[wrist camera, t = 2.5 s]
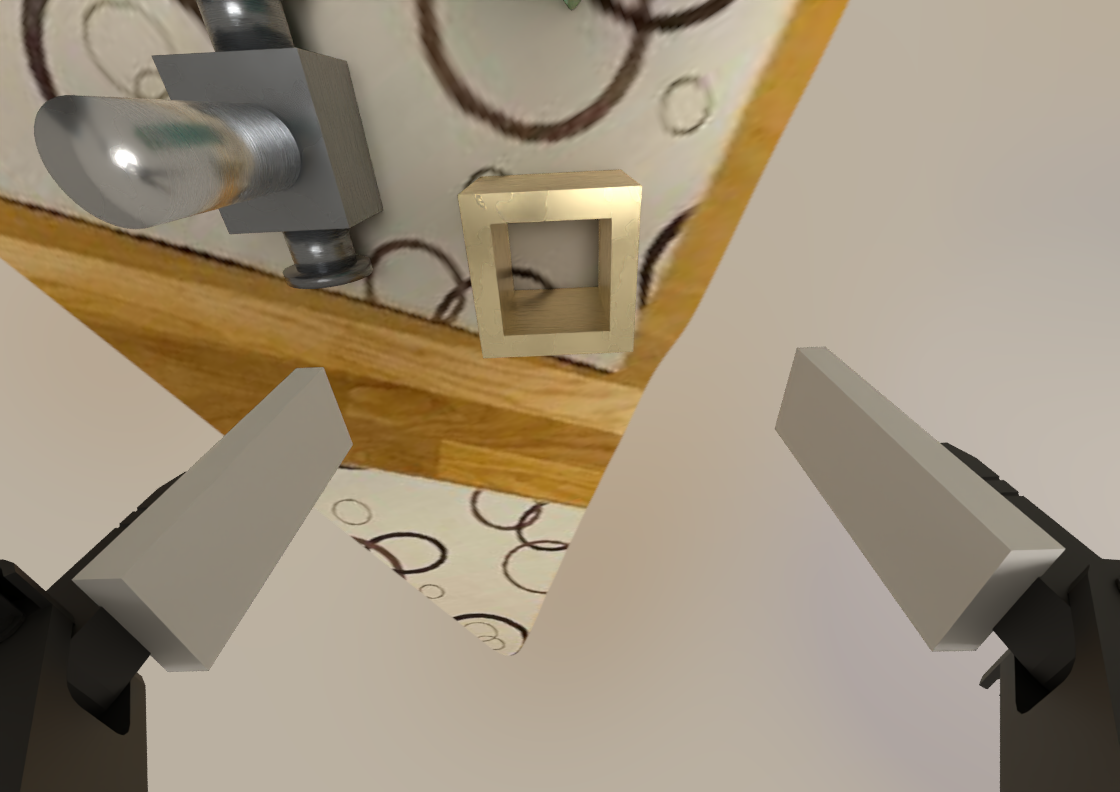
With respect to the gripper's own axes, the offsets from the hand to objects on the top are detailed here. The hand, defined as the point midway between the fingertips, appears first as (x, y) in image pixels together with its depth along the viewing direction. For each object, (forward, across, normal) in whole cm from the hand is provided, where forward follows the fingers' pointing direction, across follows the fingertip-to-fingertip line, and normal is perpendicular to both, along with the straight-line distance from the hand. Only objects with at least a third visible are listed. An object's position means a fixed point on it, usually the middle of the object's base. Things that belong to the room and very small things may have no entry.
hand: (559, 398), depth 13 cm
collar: (+17, 0, 0) cm, 17 cm away
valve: (+17, -13, +6) cm, 22 cm away
